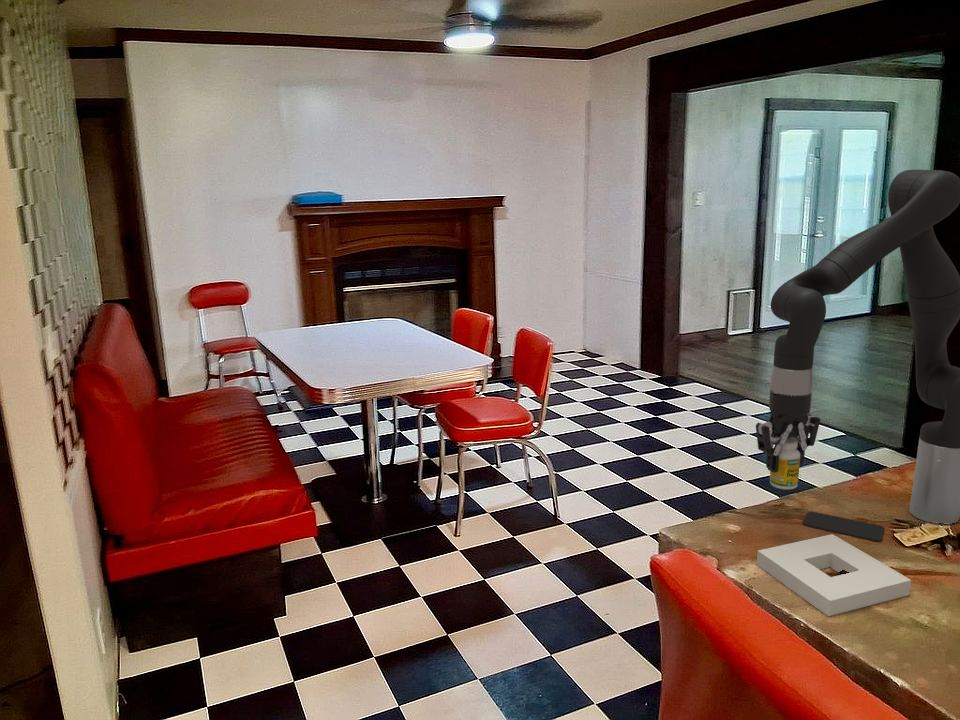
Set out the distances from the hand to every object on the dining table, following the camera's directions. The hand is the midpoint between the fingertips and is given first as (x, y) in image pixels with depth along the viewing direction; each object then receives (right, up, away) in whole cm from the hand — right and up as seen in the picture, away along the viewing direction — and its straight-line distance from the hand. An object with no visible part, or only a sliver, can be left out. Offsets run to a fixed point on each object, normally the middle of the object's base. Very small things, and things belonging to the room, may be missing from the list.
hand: (784, 468), depth 145 cm
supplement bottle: (0, -4, +1) cm, 4 cm away
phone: (+16, -14, +8) cm, 23 cm away
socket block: (+4, -19, -12) cm, 22 cm away
